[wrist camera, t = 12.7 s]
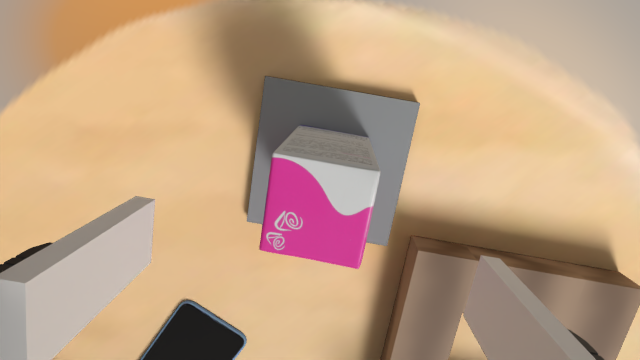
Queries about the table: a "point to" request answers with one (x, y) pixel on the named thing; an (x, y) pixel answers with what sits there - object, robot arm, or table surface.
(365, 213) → the supplement box
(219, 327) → the smartphone
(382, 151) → the mat
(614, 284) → the holder
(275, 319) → the table surface
